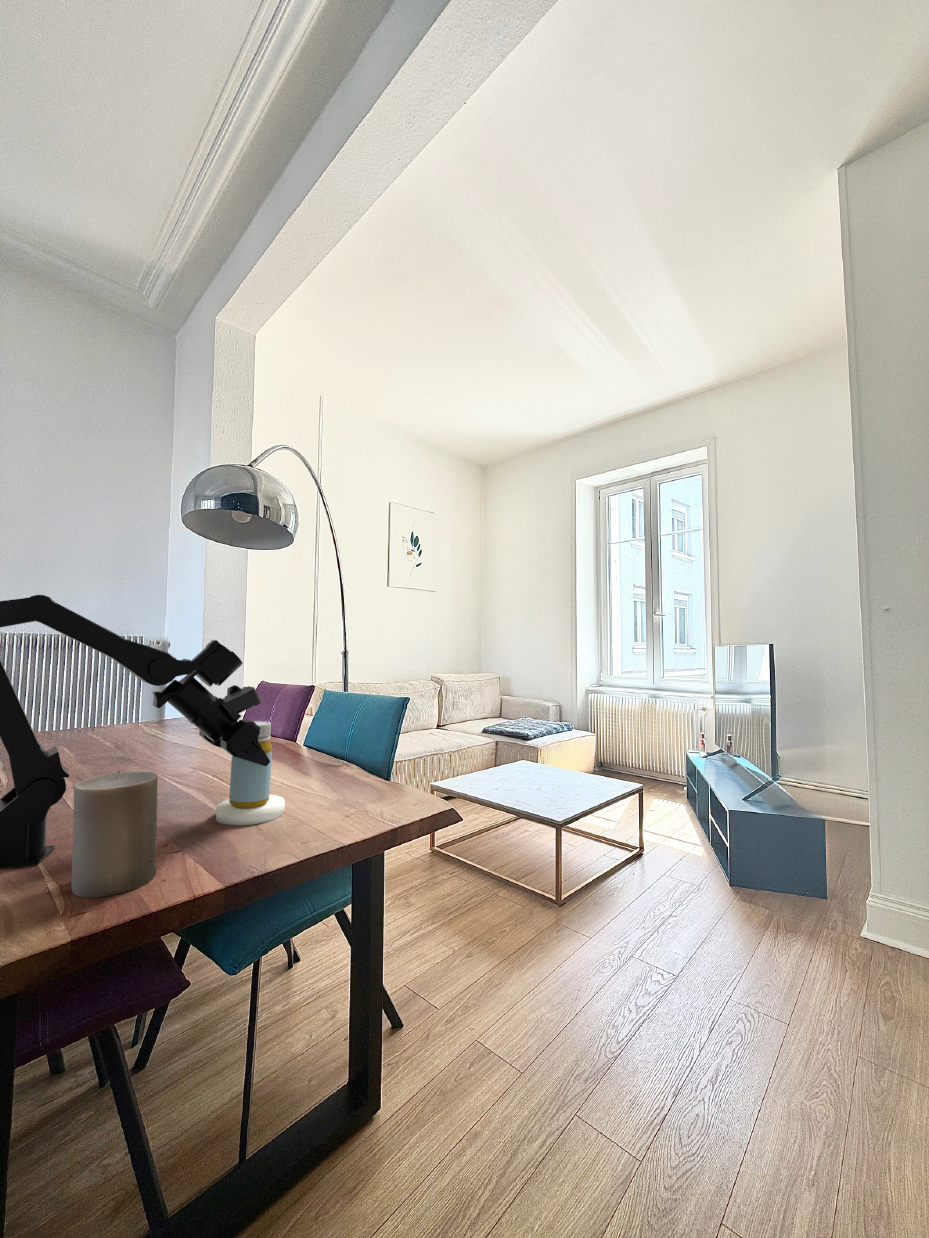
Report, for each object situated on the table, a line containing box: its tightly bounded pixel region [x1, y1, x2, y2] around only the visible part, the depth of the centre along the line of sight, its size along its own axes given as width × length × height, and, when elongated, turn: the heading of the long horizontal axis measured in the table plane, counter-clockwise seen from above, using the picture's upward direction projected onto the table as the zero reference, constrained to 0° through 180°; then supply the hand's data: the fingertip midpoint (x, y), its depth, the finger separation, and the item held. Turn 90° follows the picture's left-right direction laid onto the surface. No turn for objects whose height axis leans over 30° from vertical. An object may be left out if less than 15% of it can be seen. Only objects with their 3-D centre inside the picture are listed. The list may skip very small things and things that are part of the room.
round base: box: [215, 794, 286, 826], centre depth 99 cm, size 12×12×2 cm
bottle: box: [228, 720, 273, 808], centre depth 99 cm, size 7×7×15 cm
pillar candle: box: [70, 769, 159, 899], centre depth 72 cm, size 10×10×15 cm
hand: (259, 759), depth 101 cm, fingers open, 9 cm apart
